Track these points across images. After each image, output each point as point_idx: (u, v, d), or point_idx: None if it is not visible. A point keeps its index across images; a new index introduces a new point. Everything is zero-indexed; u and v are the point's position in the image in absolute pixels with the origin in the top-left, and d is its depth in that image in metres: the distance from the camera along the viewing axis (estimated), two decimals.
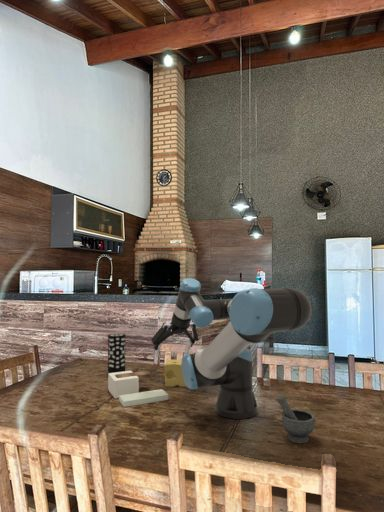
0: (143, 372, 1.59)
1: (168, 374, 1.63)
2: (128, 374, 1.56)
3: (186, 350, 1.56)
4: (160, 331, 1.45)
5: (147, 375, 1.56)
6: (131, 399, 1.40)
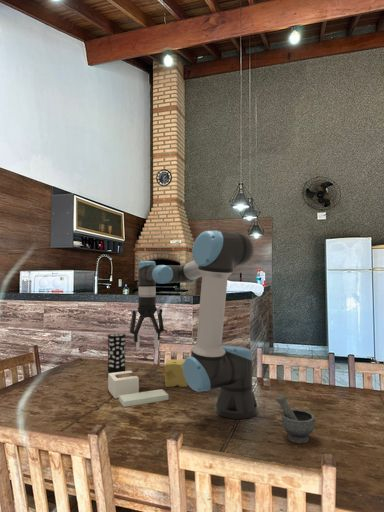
0: (143, 372, 1.59)
1: (168, 374, 1.63)
2: (128, 374, 1.56)
3: (155, 345, 1.61)
4: (132, 319, 1.57)
5: (147, 375, 1.56)
6: (131, 399, 1.40)
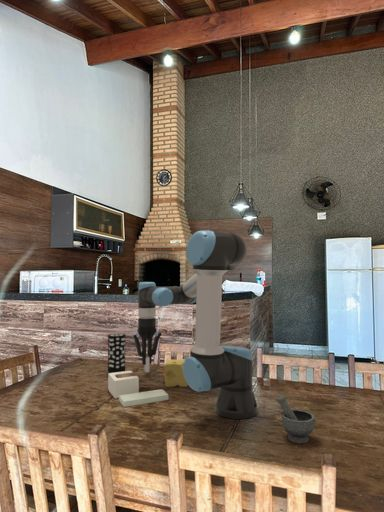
0: (143, 372, 1.59)
1: (168, 374, 1.63)
2: (128, 374, 1.56)
3: None
4: (136, 342, 1.57)
5: (147, 375, 1.56)
6: (131, 399, 1.40)
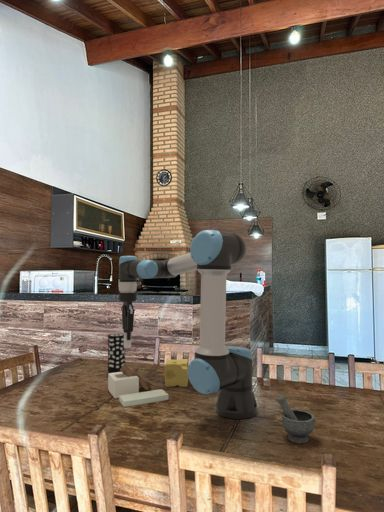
0: (145, 379, 1.59)
1: (168, 374, 1.63)
2: None
3: None
4: None
5: (148, 383, 1.56)
6: (131, 399, 1.40)
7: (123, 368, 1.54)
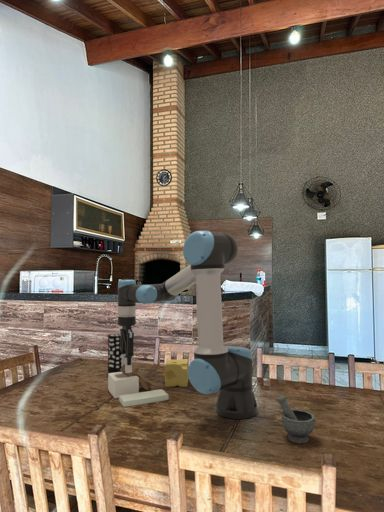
0: (145, 379, 1.59)
1: (168, 374, 1.63)
2: None
3: None
4: None
5: (148, 383, 1.56)
6: (131, 399, 1.40)
7: (123, 368, 1.54)
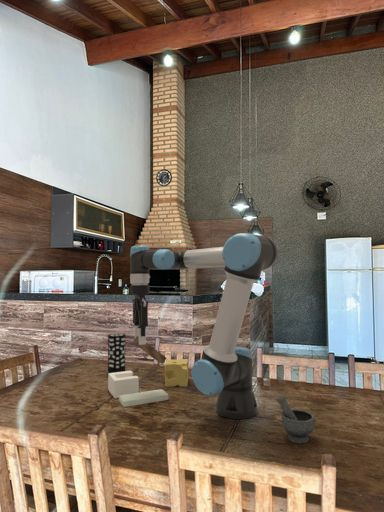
0: None
1: (168, 374, 1.63)
2: None
3: None
4: None
5: (163, 357, 1.46)
6: (131, 399, 1.40)
7: (136, 340, 1.44)
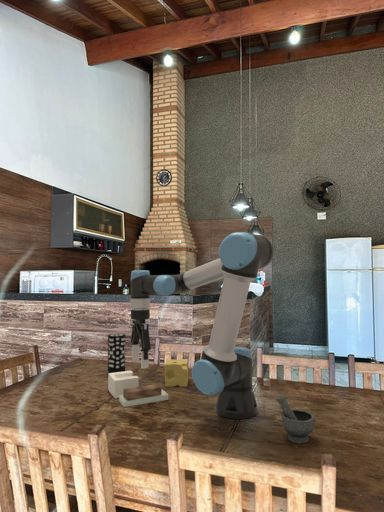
0: (153, 385, 1.46)
1: (168, 374, 1.63)
2: (137, 388, 1.43)
3: None
4: None
5: (158, 389, 1.44)
6: None
7: (125, 395, 1.40)
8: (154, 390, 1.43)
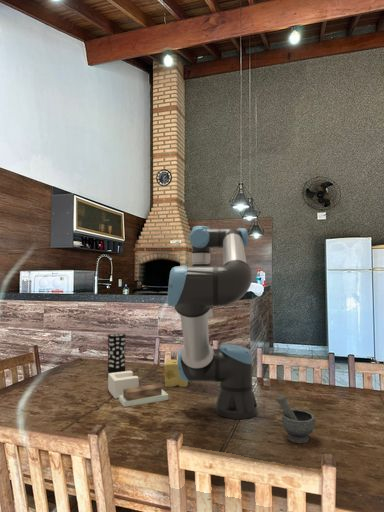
0: (153, 385, 1.46)
1: (168, 374, 1.63)
2: (137, 388, 1.43)
3: None
4: None
5: (158, 389, 1.44)
6: None
7: (125, 395, 1.40)
8: (154, 390, 1.43)
